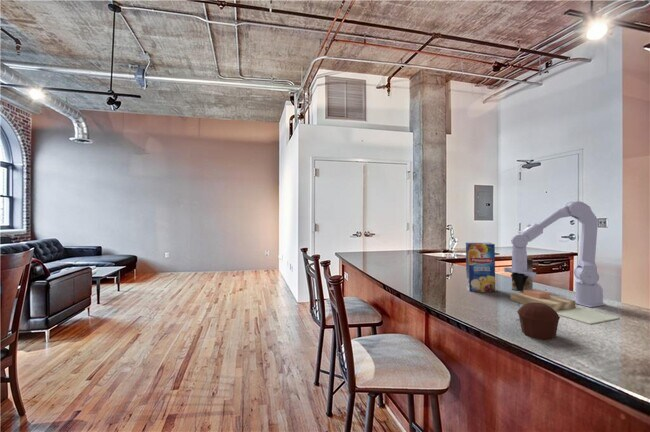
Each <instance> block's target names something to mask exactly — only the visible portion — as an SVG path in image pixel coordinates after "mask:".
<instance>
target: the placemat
mask: <svg viewBox="0 0 650 432" xmlns="http://www.w3.org/2000/svg"><path fill="white" fill-rule="evenodd" d="M556 312H557V314H558V315H559V317H564V318H568V319H570V320H574V321H577V322H580V323H583V324H588V325H594V324H598V323H599V324H600V323H603V322H604V323H605V322H608V321H614V320H619V319H620V317H619V316H614V315H610V314H606V313H603V312H599V311H596V310H591V309H589V308H588V309H586V308H583V307H576V308H573V309H567V310H561V311H556Z"/></svg>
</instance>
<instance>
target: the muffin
mask: <svg viewBox="0 0 650 432" xmlns="http://www.w3.org/2000/svg"><path fill="white" fill-rule="evenodd" d="M516 312H517V314H518V317H519V318H518V319H519V322H520V323H519V324H520V328H521V329H520V330H521V332H522V334H524V335H525V336H526V337H529V338H532V339H536V340H542V341H553V340H554V339H555V338H556V336H557V331H558V328H559V321H560V319H561V316H560V315H558V314H557V312H556V311H555V310H554V309H553V308H551V307H550V306H548V305H546V304H543V303H537V302H532V303H527V304H522V306H520V307H519V309H518V310H517V311H516Z"/></svg>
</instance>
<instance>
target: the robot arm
mask: <svg viewBox="0 0 650 432" xmlns="http://www.w3.org/2000/svg"><path fill="white" fill-rule="evenodd" d="M568 217H572V218H574V219H575V220H577V221H578V222H579V223H581V233H580V247H579V248H580V249H579V257H578V258H579V259H578V261H577V265H576V267H575V269H574V271H573V275H574V276H575V278H576V279H575V288H574V289H575V293H574V294H575V300H574V301H575V305H580V306H583V307H588V308H594V307H595V308H596V307H600V306H606V303H604V290H603V287H602V285H600V284H599V283H598V282H599V279H600V275H599V272H598V266H597V264H596V250H597V237H598V228H599V227H598V225H599V219H598V217H597V216H596V215H595V213H594V212H593V210H592V208H591V206H589V205H588V203H585V202H584V201H580V200H577V201H570V202H567V203H566V204H564V205H561V206H560V207H558V208H556V209H555V210H554V211H552V212H551V213H550V214H549V215H547V216H546V217H544V218H543V219H542V220H540V221H539V222H538V223H531V224H530V223H529V224H527V225H526V226H527V227H526V228H524V229H522V230H521V231H518V232H517V233H518V234H515V235H513V236H512V238H511V239H510V241H511V244H512V250H511V267H504V270H503V272H504V273H511V274H510V277H511V279H512V278H513V280H514V282H515V284H516V288H517V290H516V291H521V290H523V287H524V284H525V282H526V280H527V279H528V277H529V276H530V277H533V278H537V272H534V271H533V272H531V271H528V270H527V258H528V253H527V245H528V243H529V242H530V243H531V242H532V241H534V240H536V238H538V237H539V236H541V235H542V234H543V233H544V230H545V228H547V227H550V226H551V225H552V224H554V223H555V222H557V221H558V220H560V219H562V218H568ZM512 273H513V274H512Z"/></svg>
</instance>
